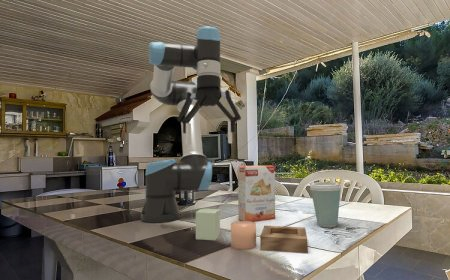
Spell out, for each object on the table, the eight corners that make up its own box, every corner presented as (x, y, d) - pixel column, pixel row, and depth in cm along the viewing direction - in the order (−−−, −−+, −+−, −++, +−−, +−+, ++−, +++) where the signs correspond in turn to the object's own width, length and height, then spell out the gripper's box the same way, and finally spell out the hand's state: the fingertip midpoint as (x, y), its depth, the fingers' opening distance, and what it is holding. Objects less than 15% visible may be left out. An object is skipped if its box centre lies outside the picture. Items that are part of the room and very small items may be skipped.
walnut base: (260, 249, 76) (260, 236, 76) (264, 237, 87) (264, 225, 88) (307, 253, 73) (307, 239, 73) (305, 239, 85) (305, 227, 85)
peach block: (228, 248, 77) (228, 226, 77) (233, 241, 84) (233, 220, 84) (254, 250, 76) (254, 227, 76) (257, 242, 82) (257, 221, 83)
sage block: (195, 239, 86) (195, 212, 86) (201, 233, 92) (201, 208, 92) (215, 240, 85) (214, 213, 85) (220, 234, 90) (219, 209, 91)
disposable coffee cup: (339, 230, 94) (337, 184, 95) (306, 226, 100) (305, 183, 101) (345, 224, 103) (344, 182, 104) (315, 220, 109) (314, 180, 110)
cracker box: (246, 223, 106) (245, 166, 107) (237, 219, 111) (237, 165, 112) (276, 218, 112) (275, 165, 114) (267, 216, 118) (266, 165, 119)
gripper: (167, 76, 90) (167, 143, 89) (245, 70, 85) (246, 142, 84) (176, 82, 98) (176, 144, 96) (249, 77, 92) (250, 143, 91)
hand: (209, 143), depth 90 cm, fingers open, 13 cm apart
